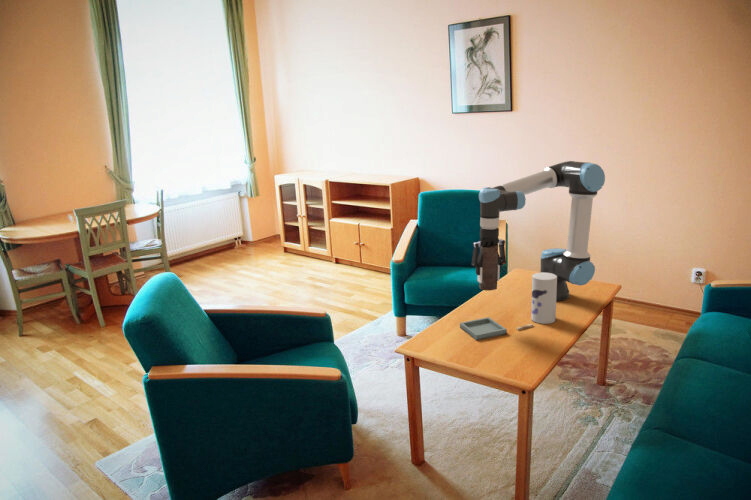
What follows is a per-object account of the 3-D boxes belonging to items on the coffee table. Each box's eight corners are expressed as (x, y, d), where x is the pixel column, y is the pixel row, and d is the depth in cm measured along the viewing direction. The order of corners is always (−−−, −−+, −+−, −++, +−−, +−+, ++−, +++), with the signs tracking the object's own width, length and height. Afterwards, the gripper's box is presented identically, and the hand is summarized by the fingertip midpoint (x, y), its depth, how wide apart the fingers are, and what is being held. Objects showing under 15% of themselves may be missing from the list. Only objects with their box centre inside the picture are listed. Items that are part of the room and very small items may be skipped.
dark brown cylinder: (497, 293, 216) (498, 246, 211) (478, 292, 217) (479, 246, 212) (497, 287, 223) (498, 241, 218) (479, 286, 225) (480, 241, 219)
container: (527, 320, 227) (528, 276, 222) (537, 313, 234) (538, 270, 229) (549, 326, 220) (550, 281, 215) (559, 318, 227) (561, 274, 222)
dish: (488, 321, 228) (488, 317, 228) (506, 334, 215) (506, 329, 215) (459, 327, 224) (459, 322, 223) (476, 340, 211) (476, 335, 211)
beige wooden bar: (531, 326, 222) (531, 323, 222) (533, 327, 221) (533, 324, 221) (516, 330, 219) (516, 327, 219) (518, 331, 218) (518, 328, 218)
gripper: (506, 223, 219) (504, 275, 225) (462, 227, 214) (462, 281, 220) (516, 226, 213) (514, 280, 218) (471, 231, 207) (470, 286, 213)
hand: (488, 280), depth 219 cm, fingers closed on dark brown cylinder, 7 cm apart
